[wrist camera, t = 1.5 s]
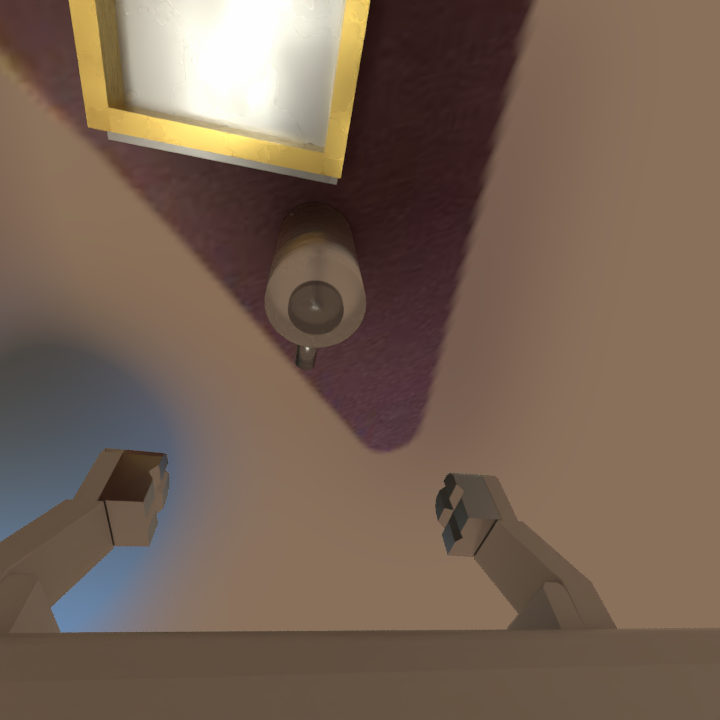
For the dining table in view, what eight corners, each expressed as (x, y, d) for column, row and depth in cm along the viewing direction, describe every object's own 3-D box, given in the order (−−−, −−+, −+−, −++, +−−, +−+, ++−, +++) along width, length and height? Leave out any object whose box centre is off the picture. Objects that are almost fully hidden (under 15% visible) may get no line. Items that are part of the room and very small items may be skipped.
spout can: (283, 195, 27) (267, 253, 18) (358, 210, 28) (377, 271, 19) (273, 295, 31) (257, 379, 23) (340, 304, 32) (348, 389, 24)
